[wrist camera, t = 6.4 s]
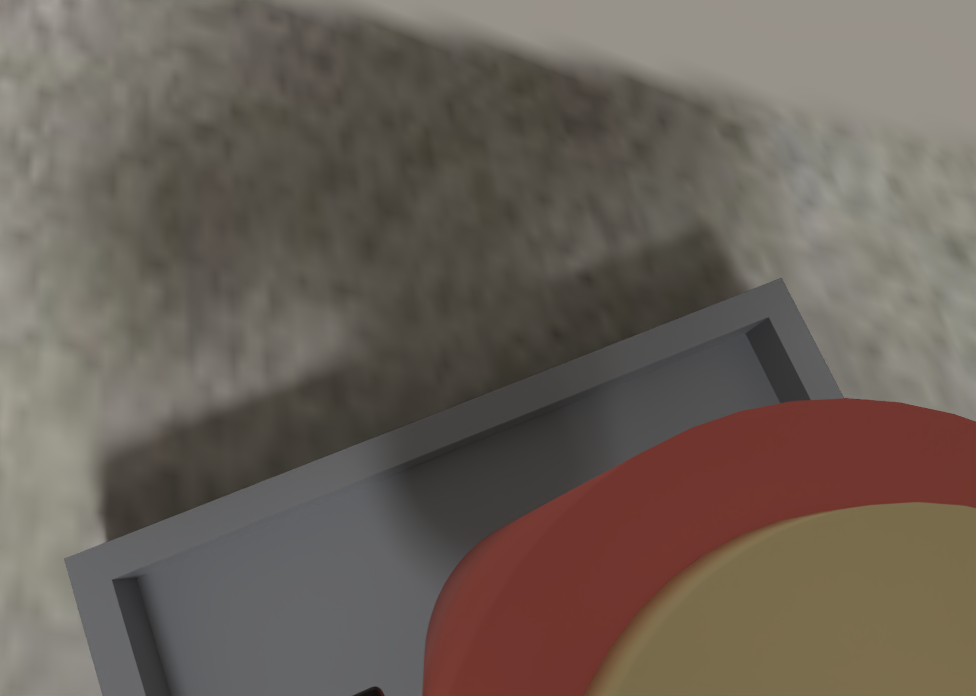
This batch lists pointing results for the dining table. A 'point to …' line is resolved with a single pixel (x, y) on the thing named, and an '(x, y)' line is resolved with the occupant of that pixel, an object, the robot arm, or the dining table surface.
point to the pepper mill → (734, 567)
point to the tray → (410, 514)
